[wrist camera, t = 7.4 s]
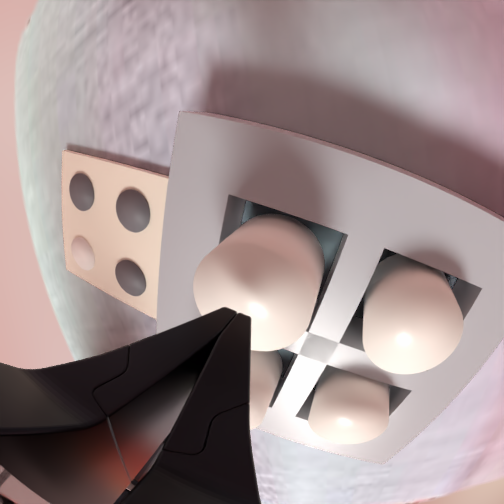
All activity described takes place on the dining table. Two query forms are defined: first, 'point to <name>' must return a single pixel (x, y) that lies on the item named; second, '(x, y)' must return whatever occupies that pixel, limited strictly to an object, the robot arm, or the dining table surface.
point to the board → (345, 263)
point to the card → (114, 227)
